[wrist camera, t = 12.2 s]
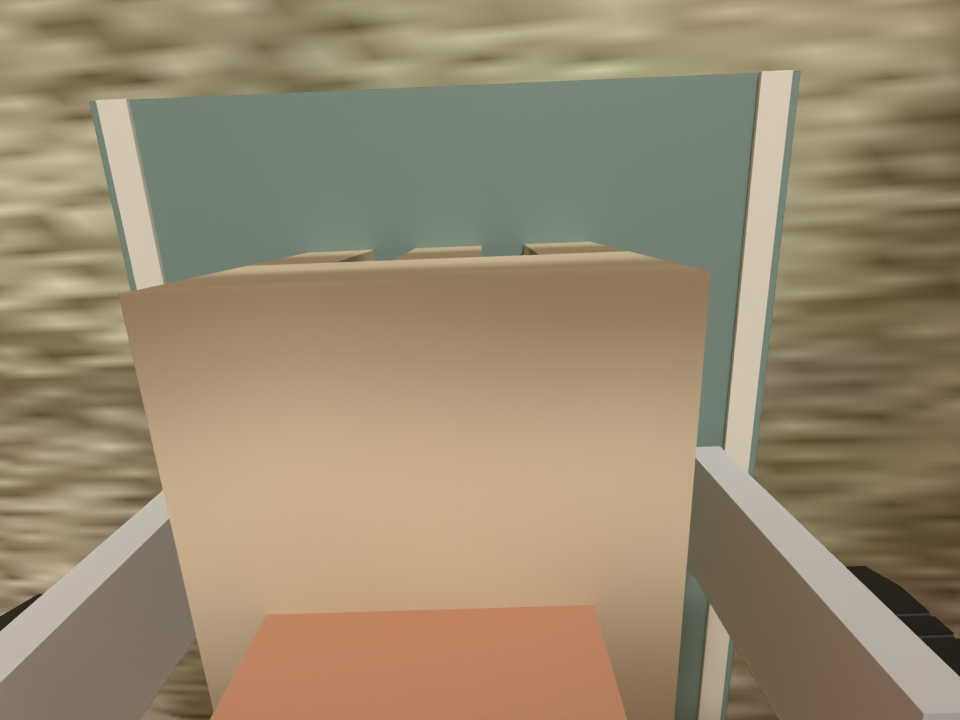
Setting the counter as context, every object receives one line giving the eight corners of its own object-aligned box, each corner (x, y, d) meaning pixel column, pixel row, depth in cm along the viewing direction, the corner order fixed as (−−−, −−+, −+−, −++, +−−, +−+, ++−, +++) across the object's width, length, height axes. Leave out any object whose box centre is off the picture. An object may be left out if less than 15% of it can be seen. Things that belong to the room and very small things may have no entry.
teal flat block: (196, 132, 14) (-2, 75, 8) (712, 110, 14) (876, 36, 8) (287, 663, 19) (203, 859, 13) (671, 652, 19) (755, 846, 13)
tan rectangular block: (307, 252, 11) (119, 294, 5) (590, 241, 11) (711, 271, 5) (363, 695, 14) (283, 1020, 9) (581, 689, 14) (649, 1014, 8)
